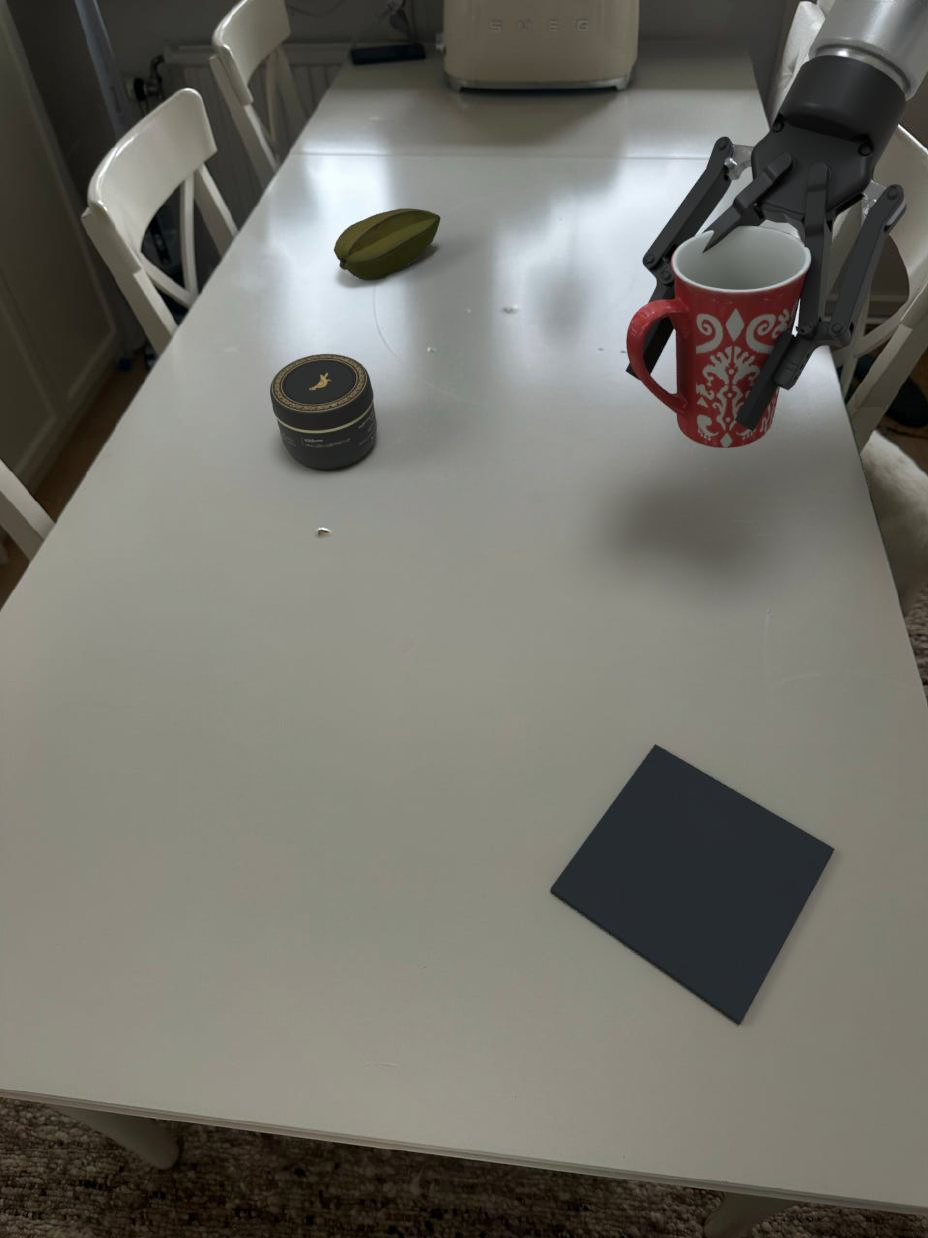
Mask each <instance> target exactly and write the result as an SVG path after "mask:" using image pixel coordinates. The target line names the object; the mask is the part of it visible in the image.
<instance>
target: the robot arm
mask: <svg viewBox="0 0 928 1238" xmlns="http://www.w3.org/2000/svg"><path fill="white" fill-rule="evenodd" d="M807 55H808V56H807V57H808V60H806V61H805V62H803V64H801V66H800V67H799V69H798V71H797V73H796V75H795V77H794V79H793V81H792V83H791V85H790V87H789V89H788V91H787V92H786V95H785V96H784V99H783V101H782V102H781V104H780V107H779V108H778V110H777V112H776V115H775V117H774V120H773V122H772V125H771V128H770V129H769V131H768V132H767V133H766V134H765V135H764V137H763V138H761V139H760V140H759V141H758V142H757V143H756V144H755V145H745V144H735V143H733V142H732V140H731V138H730V137H729V136H726V135H725V136H721V137H719V138H717V140H715V143H714V144H713V148H712V150H711V153H710V156H709V159H708V161H707V163H706V167H705V169H704V170H703V172H702V173H701V175H700V176H699V177H698V179H697V180H696V182H695V183H694V184H693V186H692V187H691V188H690V190H689V191H688V193H687V194H686V196H685V197H684V199H683V200H682V202H681V203H680V204H679V206H678V207H677V209H676V210H675V211H674V212H673V214H672V216H671V217H670V218H669V220H668V221H667V223H666V224H665V225H664V226H663V228H662V229H661V231H660V232H659V234H658V235H657V237H656V238H655V239H654V241H653V242H652V244H651V245H650V246H649V248H648V249H647V251H646V252H645V253H644V255H643V257H642V261H641V262H642V265H643V266H644V268H645V269H646V270H647V271H648V272H649V273H651V275H653V277H654V278H655V280H656V281H655V282H656V285H655V288H654V289H653V292H652V294H651V296H650V298H649V300H648V301H647V304H648V303H650V302H652V301H656V300H662V299H663V300H671V299H674V298H675V282H674V273H673V270H672V267H671V259H672V256H673V253H674V252H675V250H676V249H677V248H678V247H679V246H680V245H681V244H682V243H684V242H685V241H687V240H688V239H690V238H692V237H694V236H696V235H698V233H699V231H700V230H701V228H702V227H703V225H704V224H705V223H706V222H707V220H708V219H709V218H710V216H711V215H712V214H713V212H714V210H715V209H716V208H717V206H718V205H719V203H720V202H721V201H722V200H723V198H724V196H725V195H726V194H727V192H728V190H729V188H730V187H731V185H732V182H733V181H737V180H739V179H740V178H741V176H742V174H743V172H744V171H745V170H746V169H748V168H751V177H752V180H751V181H750V182H749V184H747V185H746V186H745V187H744V188H743V189H742V190H741V191H740V192H739V193H737V195H736V196H735V197H734V198H733V201H732V203H731V204H730V206H729V207H728V208H727V209H725V210H724V211H723V212H722V213H721V214H720V215H719V216H718V217H717V218H716V219H715V220H714V221H712V223H710V225H708V226H707V227H706V228H705V229H704V230H703V231H702V232H701V233H704V232H707V231H710V230H713V231H714V233H713V235H712V237H711V239H710V240H709V242H708V243H707V245H706V247H705V249H704V251H703V252H702V253H704V252H706V251H708V250H709V249H711V248H712V247H714V246H715V245H716V244H718V243H719V242H720V241H721V240H723V239H724V238H725V237H726V236H727V235H728V234H729V233H731V232H732V231H733V230H734V229H735V228H737V227H739V226H761V225H762V224H763V223H764V222H765V221H766V220H767V221H770V222H773V223H775V224H789V225H790V226H792V227H793V228H794V229H796V230H798V231H801V232H804V243H805V245H804V247H806V248H808V249H809V250H810V253H811V265H810V267H809V270H808V271H807V273H806V275H805V278H804V283H803V286H802V290H801V293H800V300H799V305H798V317H797V318H798V319H797V325H794V326H795V327H794V328H795V331H796V332H797V333H796V334H793V333H792V334H791V333H788V332H785V331H783V332H782V334H781V336H780V338H779V340H778V342H777V343H776V345H775V347H774V349H773V351H772V353H771V354H770V356H769V358H768V360H767V362H766V364H765V365H764V367H763V369H762V371H761V373H760V375H759V376H758V378H757V380H756V382H755V384H754V386H753V387H752V389H751V391H750V393H749V395H748V397H747V398H746V400H745V402H744V404H743V406H742V408H741V409H740V411H739V413H738V415H737V417H736V419H735V421H737V422H738V423H739V424H741V425H742V426H743V427H745V428H747V429H749V430H751V431H754V430H755V428H756V426H757V424H758V423H759V421H760V419H761V417H762V415H763V414H764V412H765V410H766V408H767V406H768V405H769V403H770V401H771V399H772V397H773V396H774V394H775V392H776V390H777V388H778V387H780V389H784V390H786V391H788V392H789V391H790V390H791V389H792V388H793V387H794V386H796V384H797V382H798V380H799V378H800V376H801V374H802V373H803V371H804V369H805V368H806V366H807V364H808V362H809V360H810V359H811V357H812V356H813V353H814V352H815V351H816V350H817V349H818V348H821V347H824V346H825V347H827V346H831V347H832V346H834V347H835V346H836V348H845V347H847V346H849V345H850V344H851V342H852V341H853V338H854V335H855V332H856V329H857V326H858V323H859V321H860V317H861V315H862V311H863V309H864V305H865V302H866V299H867V297H868V294H869V291H870V288H871V285H872V282H873V279H874V277H875V274H876V270H877V267H878V264H879V261H880V258H881V256H882V253H883V250H884V246H885V243H886V241H887V238H888V237H889V234H890V233H891V232H892V231H893V229H894V228H895V227H896V225H897V224H898V223H899V222H900V220H901V218H902V217H903V216H904V215H905V213H906V211H907V207H908V206H907V201H906V195H905V191H904V188H903V187H902V185H900V184H897V183H894V184H890V185H889V186H887V185H885V184H882V183H881V182H879V181H876V180H874V173H875V169H876V166H877V164H878V163H879V161H880V160H881V158H882V156H883V154H884V152H885V151H886V148H887V147H888V145H889V143H890V141H891V139H892V137H893V136H894V134H895V132H896V130H897V129H898V127H899V125H900V123H901V122H902V119H903V117H904V116H905V114H906V112H907V109H908V105H907V101H909V100H910V99H912V98H913V97H914V96H915V94H916V93H917V91H918V89H919V87H920V86H921V84H922V82H923V80H924V78H925V77H926V75H927V73H928V0H834V2H833V4H832V5H831V7H830V9H829V11H828V13H827V15H826V16H825V19H824V21H823V22H822V24H821V25H820V28H819V30H818V32H817V33H816V35H815V37H814V39H813V41H812V43H811V45H810V46H809V49H808V53H807ZM863 200H864V205H863V207H862V214H863V217H864V220H863V222H862V224H861V225H862V226H861V227H860V230H859V233H858V236H857V239H856V242H855V245H854V248H853V252H852V254H851V257H850V260H849V263H848V266H847V268H846V272H845V276H844V278H843V280H842V284H841V287H840V290H839V293H838V296H837V299H836V302H835V305H834V308H833V311H832V314H831V317H830V320H829V321H825V312H826V302H827V290H828V279H829V278H828V277H829V266H830V254H831V247H832V244H833V235H834V225H835V218H836V217H838V216H839V215H841V214H842V213H844V212H846V211H847V210H849V209H850V208H852V207H853V206H856V205H857V204H858V203H860V202H861V201H863ZM674 331H675V329H674V327H673V325H672V322H671V320H670V318H669V317H664V318H661V319H660V320H658V321H656V322H655V323H654V324H653V325H652V326H651V328H650V330H649V331H648V333H647V335H646V337H645V340H644V345H643V359H644V363H645V366H646V368H647V370H648V372H649V374H650V375H651V376H652V373H653V371H654V369H655V367H656V365H657V363H658V361H659V360H660V357H661V356H662V354H663V352H664V349H665V348H666V346H667V344H668V342H669V340H670V338H671V336H672V334H673V332H674ZM625 373H627V374H629V375H630V376H632V377H633V378H635V379H636V380H637V381H640V382H641V380H640V379H639V378H638V377H637V375H636V374H635V372H634V370H633V369H632V366H631V364H630V362H629V363H628V365H627V367H626V369H625Z"/></svg>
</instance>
